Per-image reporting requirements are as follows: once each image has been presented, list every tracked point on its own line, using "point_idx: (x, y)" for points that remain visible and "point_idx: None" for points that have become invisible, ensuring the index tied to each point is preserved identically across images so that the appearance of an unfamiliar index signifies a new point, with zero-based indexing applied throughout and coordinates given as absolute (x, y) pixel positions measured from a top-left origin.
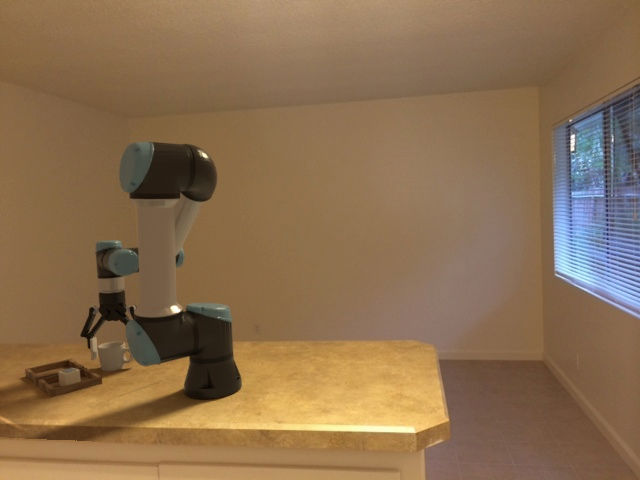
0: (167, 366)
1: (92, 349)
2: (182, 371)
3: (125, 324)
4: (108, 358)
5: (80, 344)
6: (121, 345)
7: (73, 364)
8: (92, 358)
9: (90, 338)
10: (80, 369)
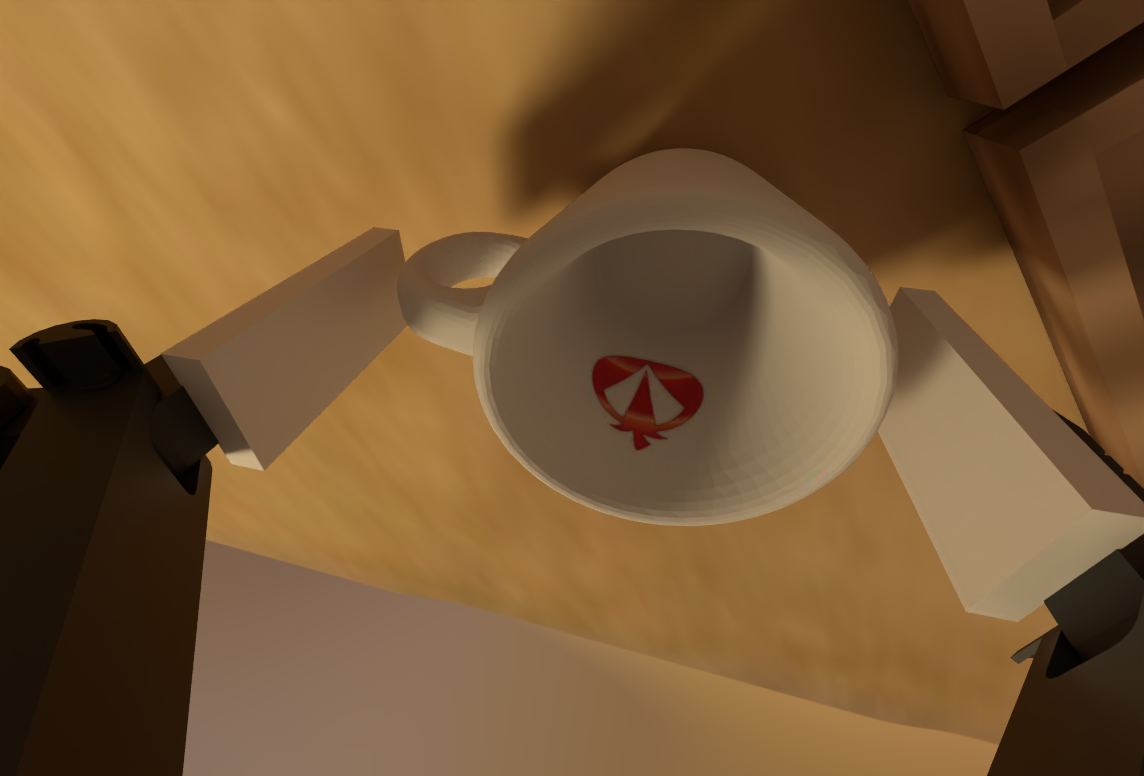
0: (252, 250)
1: (978, 367)
2: (24, 80)
3: (5, 705)
4: (670, 164)
5: (974, 732)
6: (477, 332)
7: (1141, 348)
8: (925, 300)
9: (1139, 561)
10: (1110, 9)
